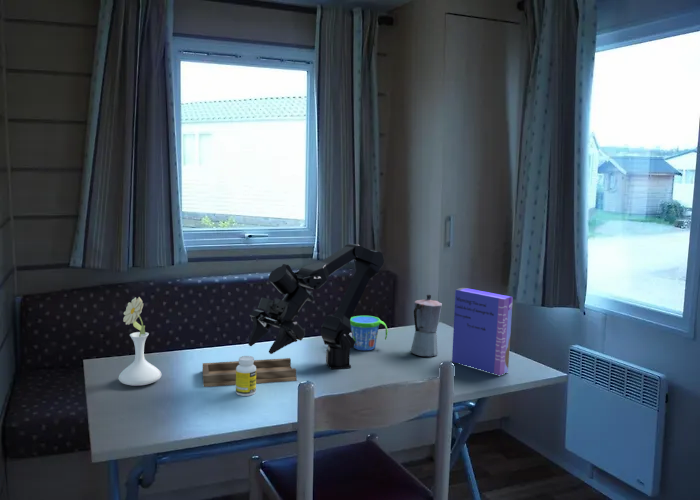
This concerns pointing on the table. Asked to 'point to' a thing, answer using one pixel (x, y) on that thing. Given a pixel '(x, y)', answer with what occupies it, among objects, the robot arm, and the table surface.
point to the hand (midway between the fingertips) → (259, 349)
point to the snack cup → (365, 331)
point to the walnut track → (264, 372)
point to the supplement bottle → (246, 376)
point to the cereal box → (482, 330)
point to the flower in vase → (138, 350)
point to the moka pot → (426, 327)
